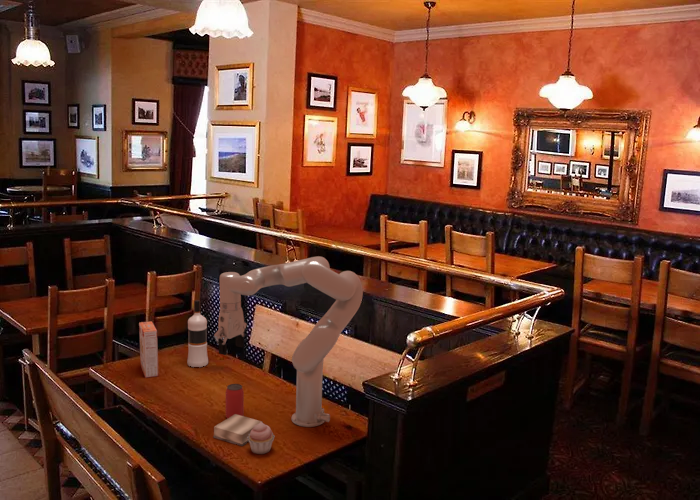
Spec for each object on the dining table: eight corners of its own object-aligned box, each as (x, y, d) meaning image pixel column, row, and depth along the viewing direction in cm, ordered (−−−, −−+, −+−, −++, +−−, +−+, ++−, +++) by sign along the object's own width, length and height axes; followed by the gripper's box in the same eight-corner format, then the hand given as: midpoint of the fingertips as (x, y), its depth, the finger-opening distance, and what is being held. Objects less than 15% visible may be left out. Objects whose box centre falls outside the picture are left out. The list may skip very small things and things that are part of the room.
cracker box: (139, 367, 292) (138, 321, 288) (153, 365, 294) (152, 320, 290) (144, 378, 279) (142, 331, 275) (158, 376, 282) (157, 329, 278)
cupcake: (274, 442, 227) (274, 415, 225) (275, 456, 218) (275, 427, 216) (246, 443, 225) (246, 416, 223) (246, 457, 216) (246, 429, 214)
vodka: (184, 367, 293) (183, 302, 288) (191, 360, 302) (190, 297, 297) (204, 368, 292) (204, 303, 287) (210, 361, 301) (210, 298, 296)
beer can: (239, 421, 242) (239, 390, 240) (222, 419, 243) (222, 388, 241) (246, 414, 248) (246, 384, 246) (229, 412, 249) (229, 382, 247)
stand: (263, 431, 234) (263, 421, 234) (242, 446, 223) (242, 435, 223) (235, 423, 240) (235, 413, 239) (213, 437, 229) (213, 426, 228)
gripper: (223, 312, 232) (224, 359, 235) (253, 302, 247) (253, 345, 250) (206, 309, 235) (207, 355, 238) (237, 299, 250) (237, 342, 253)
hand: (231, 350), depth 244 cm, fingers open, 9 cm apart
